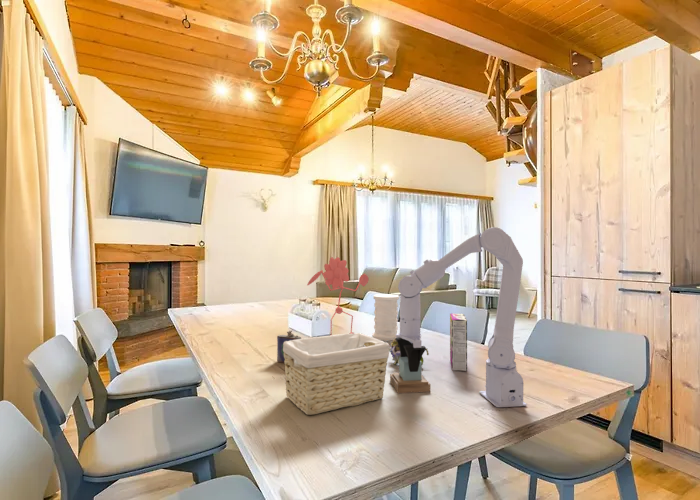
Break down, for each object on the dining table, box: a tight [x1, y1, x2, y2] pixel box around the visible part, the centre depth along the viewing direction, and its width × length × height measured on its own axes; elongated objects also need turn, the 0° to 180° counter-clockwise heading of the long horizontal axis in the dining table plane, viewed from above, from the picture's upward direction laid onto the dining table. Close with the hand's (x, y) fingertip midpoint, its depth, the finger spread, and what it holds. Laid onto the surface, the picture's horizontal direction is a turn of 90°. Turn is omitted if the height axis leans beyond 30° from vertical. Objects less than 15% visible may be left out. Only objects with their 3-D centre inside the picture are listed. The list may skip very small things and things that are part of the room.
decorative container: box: [371, 293, 400, 342], centre depth 164 cm, size 12×12×18 cm
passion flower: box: [389, 338, 430, 366], centre depth 127 cm, size 11×11×12 cm
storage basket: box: [283, 332, 390, 416], centre depth 98 cm, size 24×16×15 cm
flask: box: [276, 330, 302, 364], centre depth 127 cm, size 9×3×11 cm, turn 65°
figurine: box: [306, 256, 370, 335], centre depth 147 cm, size 15×26×35 cm, turn 127°
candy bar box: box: [449, 312, 468, 372], centre depth 125 cm, size 11×5×16 cm, turn 168°
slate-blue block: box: [398, 357, 423, 381], centre depth 106 cm, size 5×5×5 cm
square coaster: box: [389, 372, 431, 394], centre depth 106 cm, size 9×9×2 cm
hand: (409, 366), depth 106 cm, fingers open, 7 cm apart
